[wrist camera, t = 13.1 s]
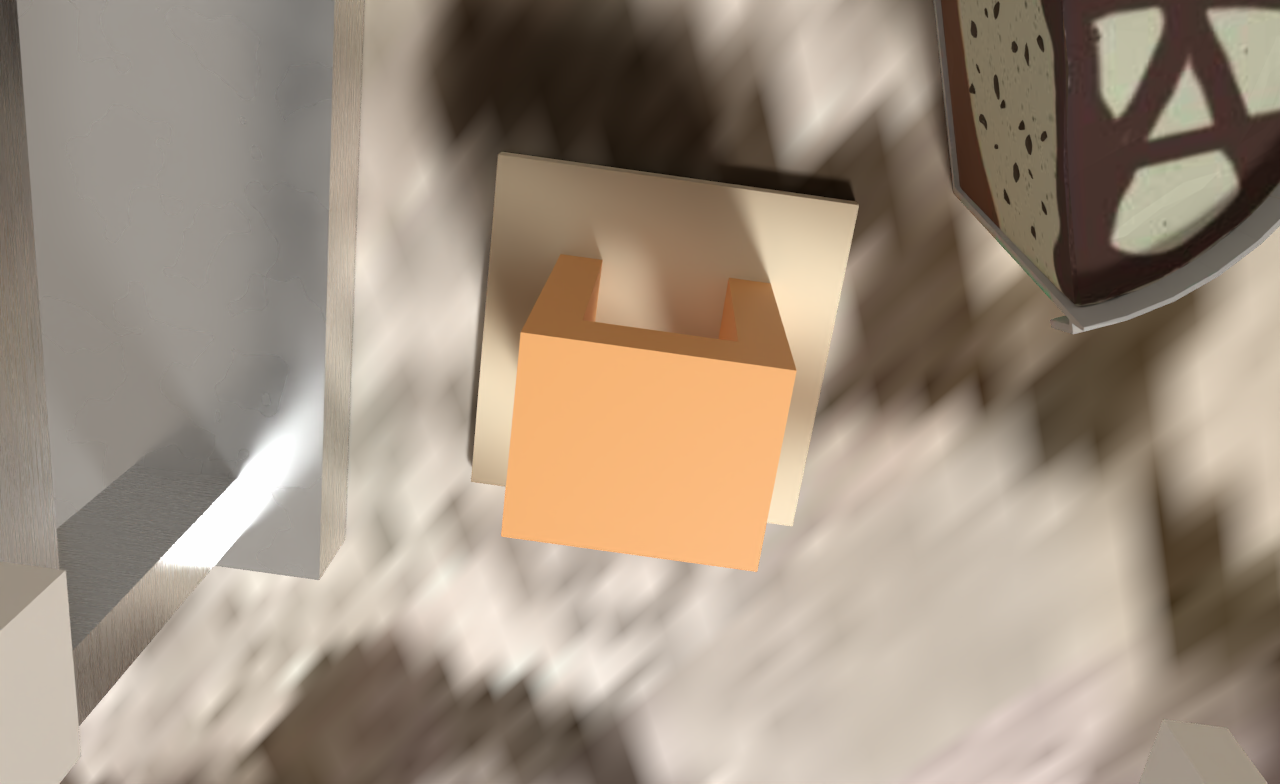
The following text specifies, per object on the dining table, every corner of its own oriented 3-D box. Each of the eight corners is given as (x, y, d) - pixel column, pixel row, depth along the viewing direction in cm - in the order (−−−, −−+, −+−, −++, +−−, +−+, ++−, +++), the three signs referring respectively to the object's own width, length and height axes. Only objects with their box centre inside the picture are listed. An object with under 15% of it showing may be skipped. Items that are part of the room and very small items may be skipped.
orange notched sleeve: (560, 254, 29) (520, 332, 22) (770, 283, 29) (796, 370, 22) (543, 416, 31) (501, 536, 24) (741, 444, 31) (757, 571, 24)
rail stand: (58, -191, 26) (-440, -347, 15) (369, -147, 27) (118, -267, 15) (99, 505, 34) (-218, 774, 22) (344, 539, 34) (161, 826, 22)
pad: (501, 151, 29) (498, 154, 28) (855, 201, 29) (858, 205, 28) (474, 473, 33) (471, 481, 32) (790, 517, 33) (792, 526, 32)
